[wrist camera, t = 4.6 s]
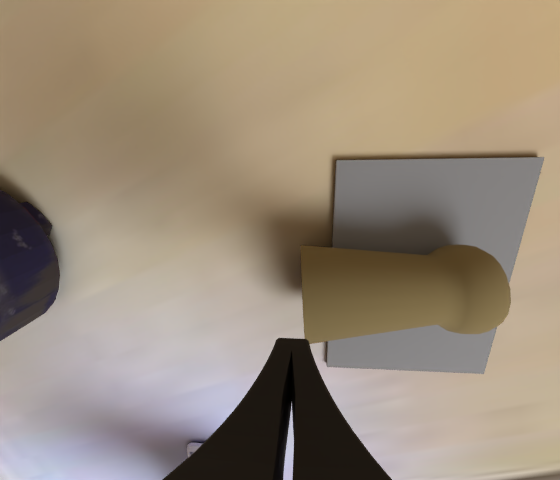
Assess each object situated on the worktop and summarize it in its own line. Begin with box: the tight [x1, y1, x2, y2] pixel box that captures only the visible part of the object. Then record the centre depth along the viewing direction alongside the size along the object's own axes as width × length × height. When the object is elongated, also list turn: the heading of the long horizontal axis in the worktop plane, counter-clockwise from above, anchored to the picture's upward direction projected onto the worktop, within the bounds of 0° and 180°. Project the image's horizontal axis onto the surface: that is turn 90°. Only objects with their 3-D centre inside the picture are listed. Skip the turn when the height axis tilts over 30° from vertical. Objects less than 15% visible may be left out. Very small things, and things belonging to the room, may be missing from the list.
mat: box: [327, 157, 544, 374], centre depth 19 cm, size 16×12×1 cm
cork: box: [301, 245, 511, 344], centre depth 16 cm, size 6×6×11 cm
